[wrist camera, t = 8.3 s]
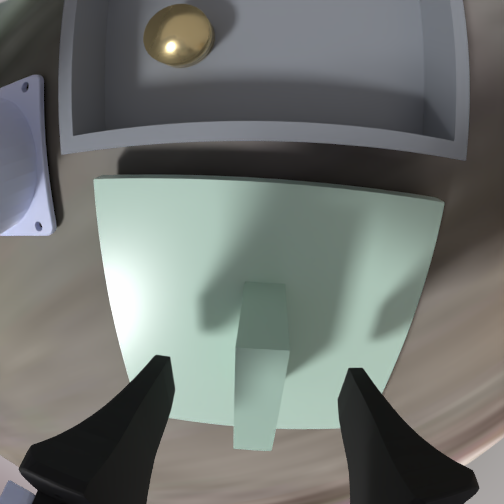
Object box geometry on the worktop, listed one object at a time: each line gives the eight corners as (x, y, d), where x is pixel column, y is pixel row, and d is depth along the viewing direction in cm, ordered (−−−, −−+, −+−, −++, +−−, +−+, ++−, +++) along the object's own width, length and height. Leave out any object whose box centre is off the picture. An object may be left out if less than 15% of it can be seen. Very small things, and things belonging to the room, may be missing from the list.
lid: (145, 396, 18) (120, 463, 13) (109, 172, 12) (31, 208, 8) (361, 410, 18) (376, 479, 13) (429, 193, 12) (502, 239, 7)
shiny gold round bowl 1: (154, 71, 10) (142, 68, 9) (155, 18, 9) (144, 10, 8) (215, 65, 10) (209, 59, 9) (215, 10, 9) (209, 0, 8)
